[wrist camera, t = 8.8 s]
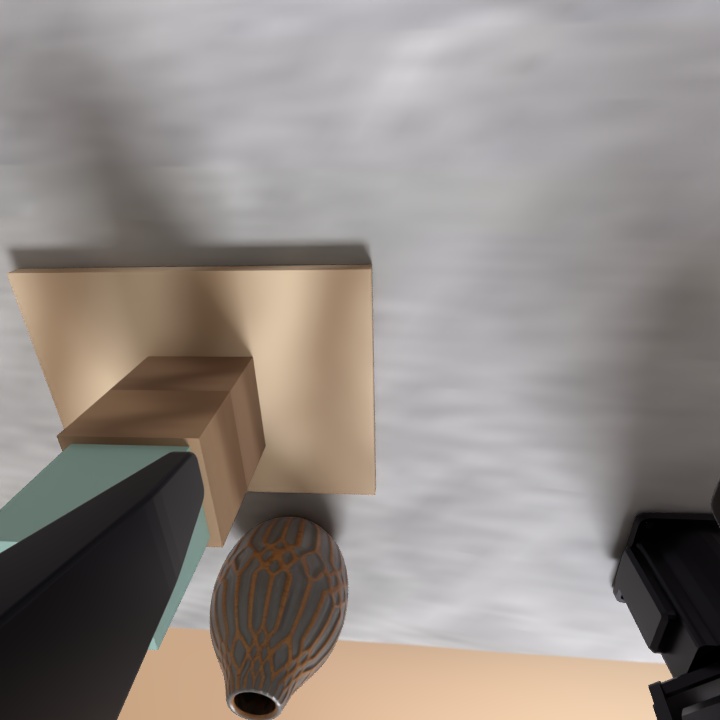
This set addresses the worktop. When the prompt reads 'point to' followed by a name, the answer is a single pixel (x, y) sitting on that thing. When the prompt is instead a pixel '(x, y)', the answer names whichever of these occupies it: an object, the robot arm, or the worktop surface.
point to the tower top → (175, 440)
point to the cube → (83, 482)
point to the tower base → (210, 377)
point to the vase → (276, 613)
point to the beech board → (225, 351)
